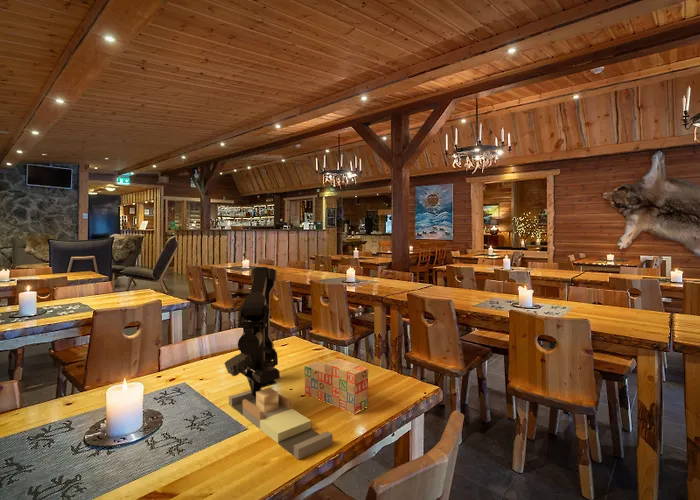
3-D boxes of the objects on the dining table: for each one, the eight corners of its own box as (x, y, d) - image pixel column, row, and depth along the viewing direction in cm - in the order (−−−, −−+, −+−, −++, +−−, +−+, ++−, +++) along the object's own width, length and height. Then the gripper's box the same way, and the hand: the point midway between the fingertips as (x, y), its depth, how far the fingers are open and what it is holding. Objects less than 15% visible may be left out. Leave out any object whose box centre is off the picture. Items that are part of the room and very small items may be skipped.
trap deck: (259, 395, 125) (258, 381, 125) (332, 444, 98) (332, 426, 97) (228, 404, 119) (228, 389, 119) (298, 459, 91) (298, 440, 91)
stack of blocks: (304, 394, 127) (304, 356, 126) (318, 388, 132) (318, 351, 131) (354, 415, 113) (354, 373, 112) (368, 408, 117) (368, 367, 117)
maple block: (270, 402, 115) (270, 387, 114) (278, 408, 111) (278, 392, 111) (256, 407, 112) (256, 391, 111) (264, 413, 108) (264, 397, 108)
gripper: (214, 341, 117) (215, 393, 118) (243, 357, 103) (244, 416, 104) (249, 335, 125) (249, 383, 126) (280, 349, 111) (280, 403, 112)
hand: (255, 396), depth 117 cm, fingers closed
